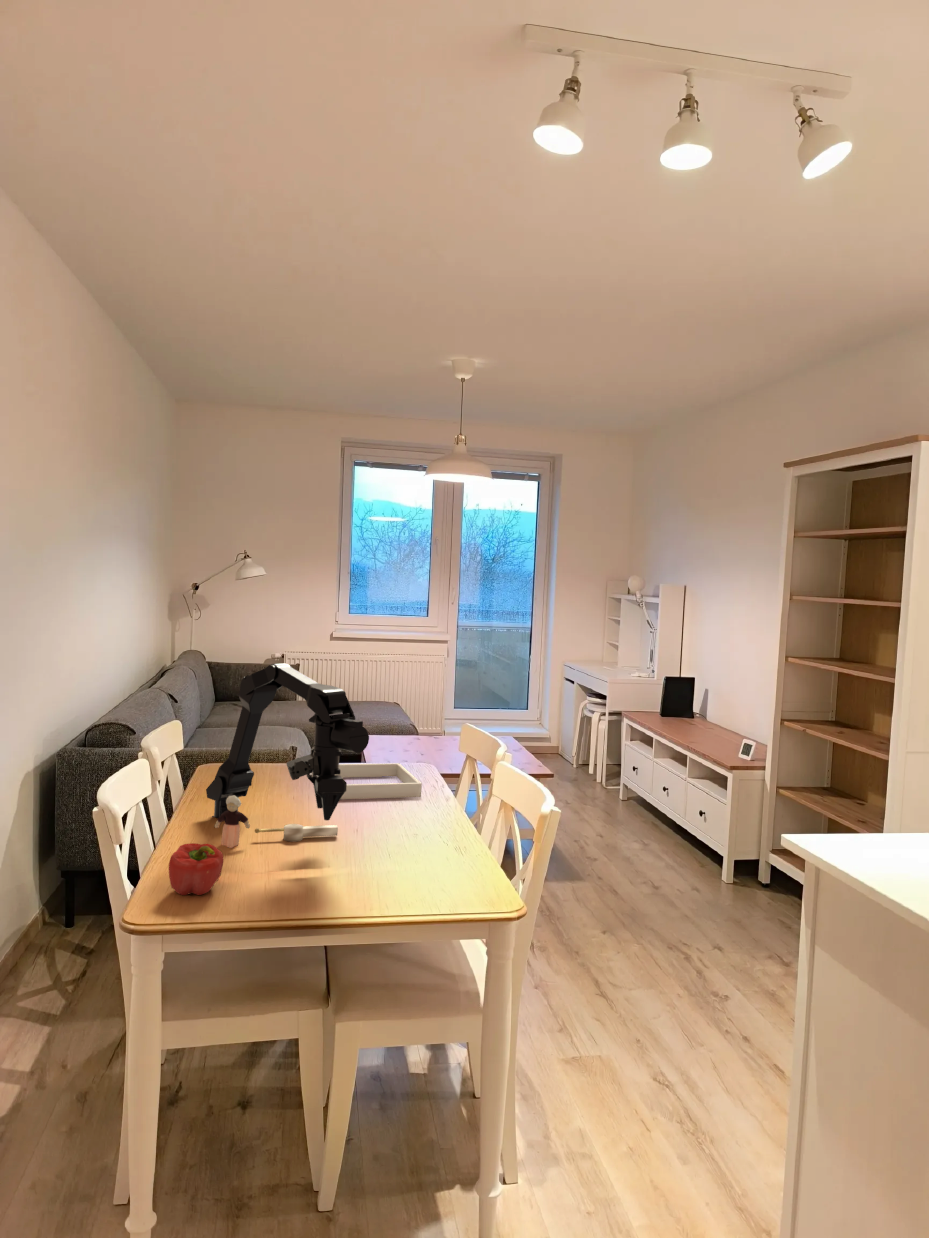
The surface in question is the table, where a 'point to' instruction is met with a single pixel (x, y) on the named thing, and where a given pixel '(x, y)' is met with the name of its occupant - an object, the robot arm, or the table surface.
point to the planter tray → (387, 790)
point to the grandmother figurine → (232, 822)
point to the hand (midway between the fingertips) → (323, 813)
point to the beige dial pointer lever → (303, 831)
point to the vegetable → (195, 868)
